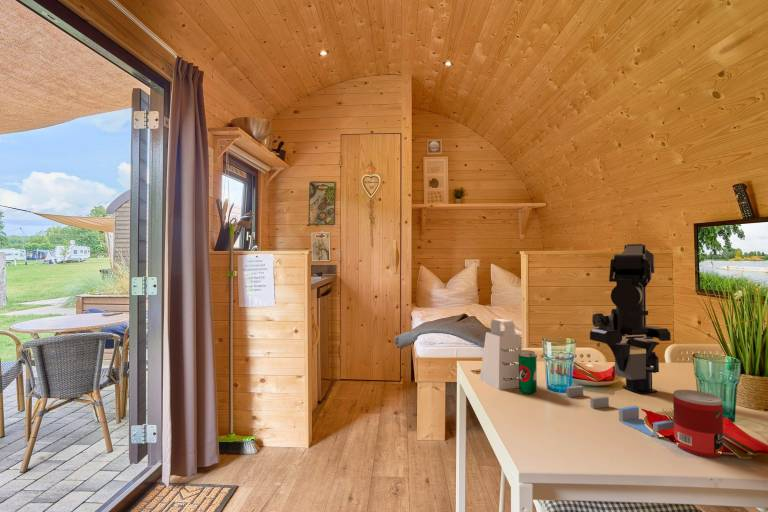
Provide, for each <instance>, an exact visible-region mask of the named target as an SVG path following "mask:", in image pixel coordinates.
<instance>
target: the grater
mask: <svg viewBox="0 0 768 512" xmlns="http://www.w3.org/2000/svg"><path fill="white" fill-rule="evenodd" d="M501 322H502V323H503V325H504V330H502V329H501ZM515 330H516V329H515V323H514V321H513V320H509V319H505V318H493V319H491V321H490V331H486V332H485V338H484V344H483V353H482V359H481V366H480V375H479V381H481V382H483V383H485V384H486V385H489V386H491V387H493V388H495V389H497V390H498V391H499V390H508V389H514V388H519V363H518V355H519V353H520V351H521V350H523V348H522V343H521V335H520V334H518V333H515V332H516V331H515ZM511 378H512V379H511ZM506 379H511V380H506ZM513 379H514V380H513Z"/></svg>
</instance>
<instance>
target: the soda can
mask: <svg viewBox="0 0 768 512" xmlns="http://www.w3.org/2000/svg"><path fill="white" fill-rule="evenodd" d="M537 358H538V356H537V355H536V352H535V351H533V350H531V349H522V350H521V351H520V353H519V355H518V362H517V364H519V387H518V391H519V392H520V393H521V394H524V395H535V394H537V391H538V386H537V385H538V380H537V376H538V374H537V373H538V371H537V370H538V368H537V366H538V365H537V362H538V361H537Z"/></svg>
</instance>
